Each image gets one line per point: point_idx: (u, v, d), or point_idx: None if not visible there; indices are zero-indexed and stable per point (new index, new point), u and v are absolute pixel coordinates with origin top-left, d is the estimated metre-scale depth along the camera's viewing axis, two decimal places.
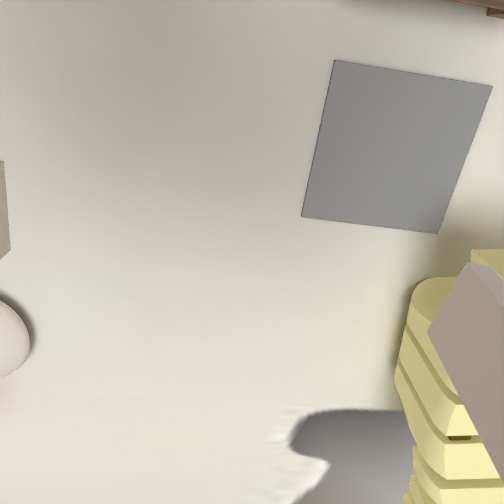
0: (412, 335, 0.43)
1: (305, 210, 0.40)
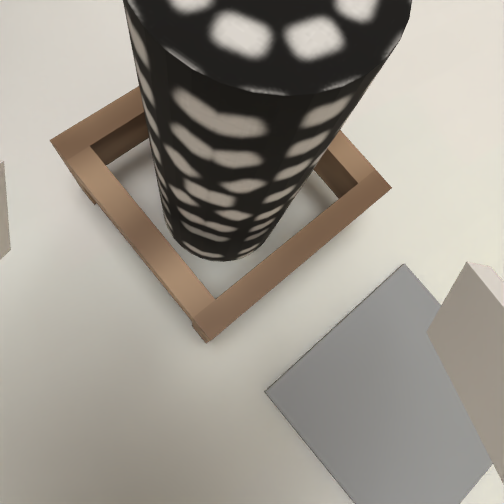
0: None
1: None
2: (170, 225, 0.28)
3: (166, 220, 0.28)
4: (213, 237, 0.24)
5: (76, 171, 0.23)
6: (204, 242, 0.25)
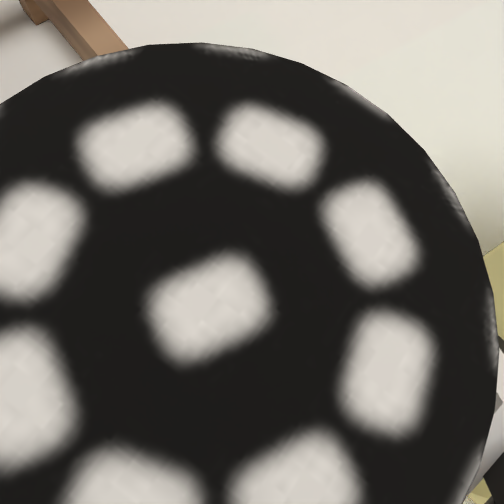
0: None
1: None
2: None
3: None
4: None
5: None
6: None
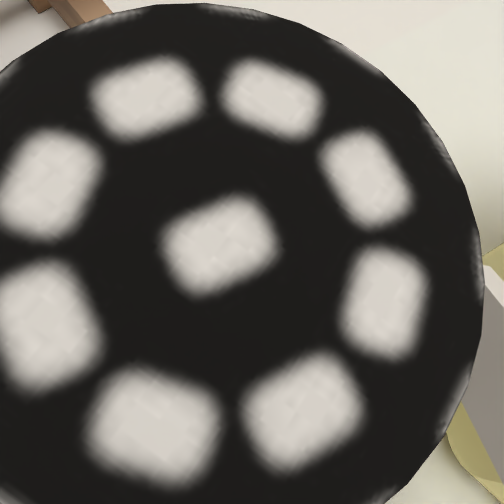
0: None
1: None
2: None
3: None
4: None
5: None
6: None
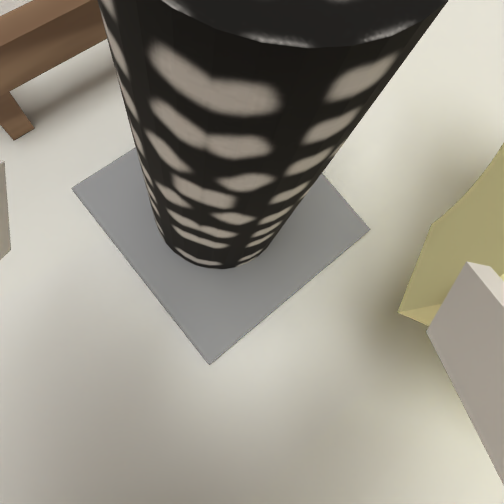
0: None
1: (204, 352, 0.25)
2: (161, 229, 0.24)
3: (156, 223, 0.25)
4: (210, 243, 0.20)
5: None
6: (199, 249, 0.22)
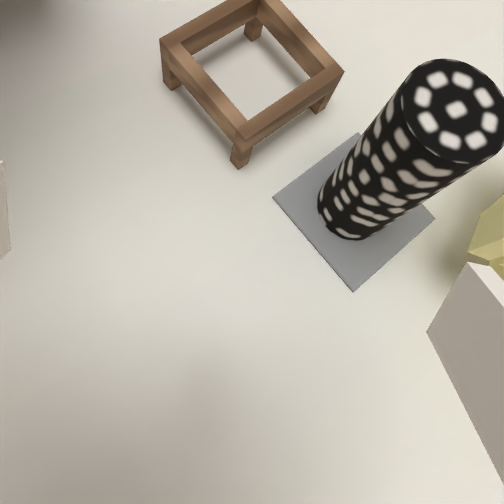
0: None
1: (351, 285, 0.46)
2: (330, 218, 0.46)
3: (325, 215, 0.46)
4: (369, 223, 0.42)
5: (173, 54, 0.43)
6: (358, 227, 0.43)
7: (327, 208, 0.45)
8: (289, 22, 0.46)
